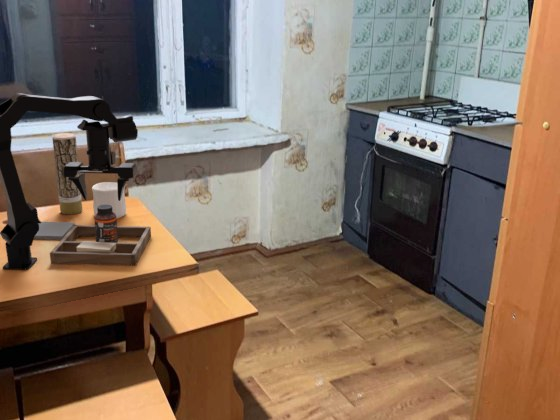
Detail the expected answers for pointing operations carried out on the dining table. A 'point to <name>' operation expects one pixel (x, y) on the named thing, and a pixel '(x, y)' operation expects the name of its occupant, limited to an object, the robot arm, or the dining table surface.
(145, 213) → the dining table surface
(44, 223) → the mat
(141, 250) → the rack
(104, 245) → the offcut top
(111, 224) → the supplement bottle
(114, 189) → the cup
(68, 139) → the patterned tall cylinder
